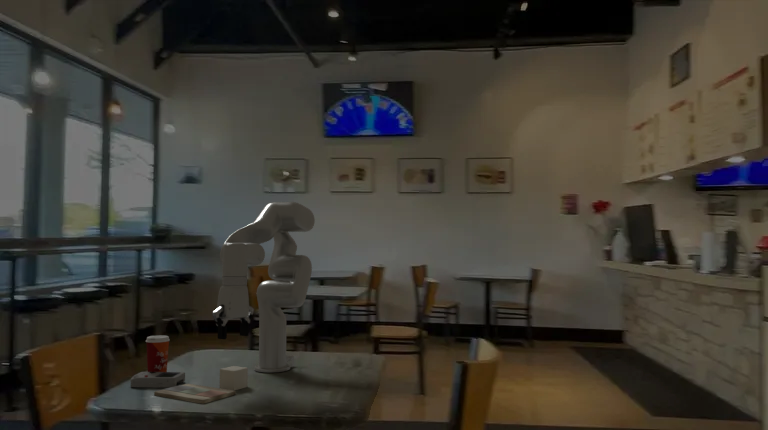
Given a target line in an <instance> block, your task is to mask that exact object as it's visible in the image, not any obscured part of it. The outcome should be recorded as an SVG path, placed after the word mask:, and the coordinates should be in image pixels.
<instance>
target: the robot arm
mask: <svg viewBox="0 0 768 430" xmlns="http://www.w3.org/2000/svg"><path fill="white" fill-rule="evenodd" d="M314 215H315V214H314V213H313V211H312V210H311V209H310V208H308V207H307V206H304V205H303V204H301V203H299V202H295V201H273V202H269V203H267V204H266V205H265V206H264V207H263V208H262V210H261V211H260V212H259V214H258V215H257V217H256V218H255V219H254V221H253V222H251V223H249V224H247V225H245V226H244V227H241V228H239V229H237V230H236V231H233V232H232V233H231V234H230V235H229V236H228V237H227V239H226V240H225V241H224V242H223V244H222V246H221V249H220V252H219V257H220V261H221V262H222V273H221V275H222V278H221V281H222V282H221V286H220V288H219V292H218V294H217V295H218V296H217V303H216V304H217V305H216V309H215V310H213V311H212V313H211V314H212V317H213V321H214V323H215V325H216V326H217V339H218V340H227V339H228V338H227V337H228V336H227V334H228V331H227V329H228V326H227V325H226V324H227V323H228V322H229V320H237V319H239V320H240V323H239V336H241V337H248V336H249V329H250V328H249V327H250V323H251V320H252V318H253V314H254V311H255V308H253V307H252V306H251V305H250V297H249V289H248V288H249V287H248V286H247V285H248V267H250V266H251V267H256V266H259V265H260V264H262V263H263V262H264V260H265V257H266V251H265V249H264V247H263V246H262V245H261V244H264V243H266V242H269V241H271V240H272V239H273V240H274V245H273V250H272V253H271V257H270V260H269V263H268V268H267V274H268V277H269V278H270V279H271V280H270V279H268V280H264V281H262V282H261V283H259V285H258V287H257V289H256V297H257V298H256V299H257V305H258V319H259V320H258V321H259V322H258V323H259V325H258V326H259V328H258V332H259V333H258V334H259V335H258V339H259V340H258V358H259V359H258V364H257V365H254V371H255V372H258V373H266V374H267V373H268V374H269V373H281V372H287V371H289V370H291V365H290V364H289V363H288V362H290V361H293V360H294V358H295V357H294V355H293V354H291V355H288V354H287V317H286V315H285V313H284V312H283V310H282V308H287V309H288V308H291V309H292V308H295V309H297V308H300V307H303V305H304V303H305V301H306V297H307V294H308V290H309V286H310V282H311V276H312V269H313V267H312V261H311V259H310V257H308V256H306V255H303V254H297V249H298V245H297V242H296V241H295V240H294V238H293V236H292V235H290V233H291V232H292V233H293V232H295V233H296V232H299V233H300V232H302V233H305V232H310V231H312V229H313V228H314V227H315V222H316V221H315V220H316V219H315V216H314Z"/></svg>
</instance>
